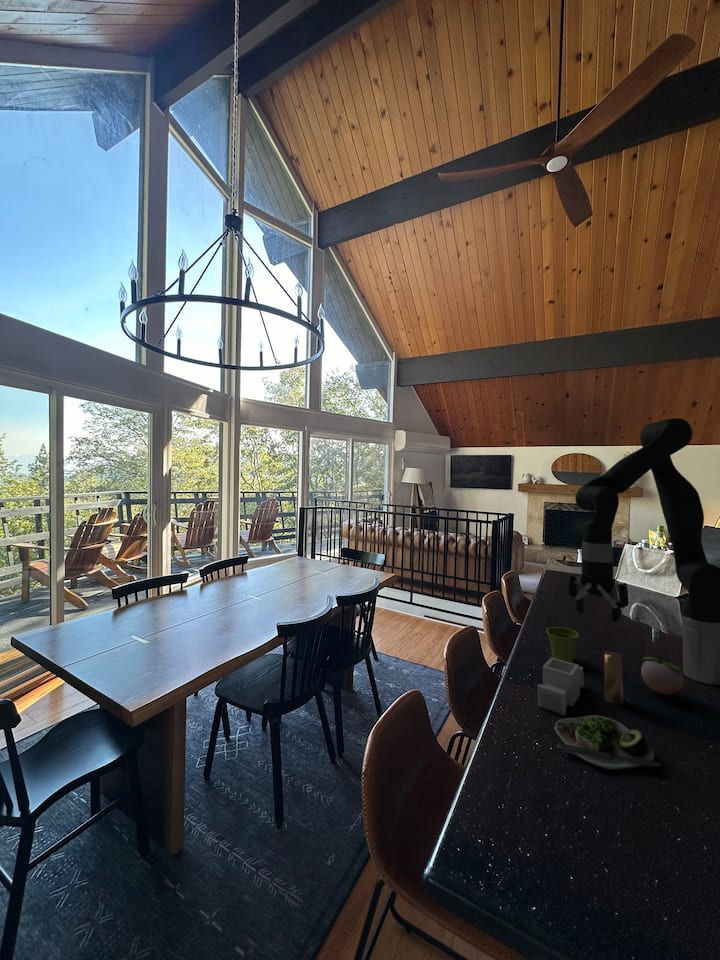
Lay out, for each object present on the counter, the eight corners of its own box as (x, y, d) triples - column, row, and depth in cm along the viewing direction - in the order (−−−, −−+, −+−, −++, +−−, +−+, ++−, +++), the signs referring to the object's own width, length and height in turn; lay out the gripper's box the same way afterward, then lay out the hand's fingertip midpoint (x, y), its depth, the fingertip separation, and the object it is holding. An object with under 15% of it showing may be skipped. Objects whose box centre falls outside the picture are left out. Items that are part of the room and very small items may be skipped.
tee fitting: (585, 686, 112) (584, 658, 112) (566, 716, 98) (565, 683, 98) (557, 678, 117) (556, 650, 117) (536, 705, 103) (535, 674, 103)
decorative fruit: (636, 693, 108) (635, 656, 108) (645, 683, 113) (644, 647, 113) (679, 708, 100) (679, 668, 100) (687, 696, 106) (687, 658, 106)
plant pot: (546, 662, 127) (545, 635, 127) (547, 650, 135) (547, 625, 135) (579, 668, 122) (579, 640, 122) (579, 655, 131) (578, 629, 130)
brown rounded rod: (624, 700, 105) (623, 654, 105) (621, 706, 102) (620, 659, 102) (606, 694, 107) (605, 650, 107) (603, 701, 104) (602, 655, 104)
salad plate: (582, 783, 77) (582, 759, 77) (533, 726, 95) (533, 707, 95) (674, 774, 79) (674, 751, 79) (610, 720, 97) (609, 701, 97)
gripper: (631, 560, 107) (632, 621, 107) (576, 553, 118) (576, 607, 118) (621, 564, 102) (621, 627, 103) (564, 556, 114) (564, 613, 114)
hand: (597, 617), depth 110 cm, fingers open, 8 cm apart
